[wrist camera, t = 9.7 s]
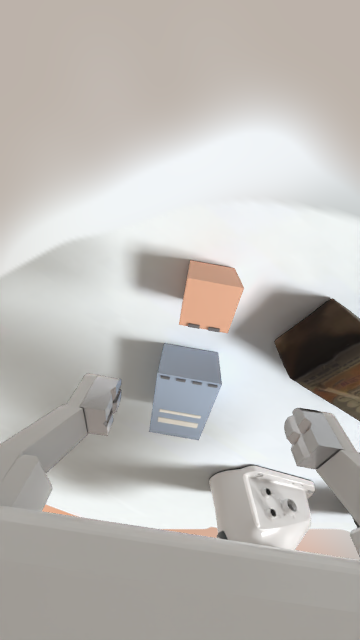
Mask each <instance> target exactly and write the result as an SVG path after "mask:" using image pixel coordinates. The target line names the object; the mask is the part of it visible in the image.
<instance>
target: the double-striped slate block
mask: <svg viewBox="0 0 360 640" xmlns="http://www.w3.org/2000/svg"><path fill="white" fill-rule="evenodd" d="M221 385H222V381H221V373H220V364H219V356H218V353H217V352H211V351H205V350H200V349H194V348H188V347H183V346H177V345H171V344H166V343H164V347H163V351H162V356H161V360H160V364H159V369H158V373H157V380H156V387H155V394H154V401H153V409H152V416H151V423H150V430H149V432H154V433H160V434H166V435H172V436H178V437H183V438H189V439H195V440H199V438H200V436H201V433H202V431H203V428H204V426H205V424H206V421H207V419H208V416H209V414H210V412H211V409H212V407H213V404H214V402H215V399H216V397H217V395H218V392H219V390H220V387H221Z"/></svg>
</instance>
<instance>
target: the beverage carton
mask: <svg viewBox="0 0 360 640" xmlns="http://www.w3.org/2000/svg"><path fill="white" fill-rule="evenodd" d="M275 345H276V348H277V350H278V352H279V355H280V358H281V359H282V362H283V364H284V367H285V369H286V371H287V373H288V375H289V377H290V378H291V379H292V380H294V381H296V382H298V383H299V384H300V385H302V386H303V387H305V388H307V389H308V390H310V391H312V392H313V393H315V394H316V395H318V396H320V397H321V398H323V399H325V400H326V401H328V402H329V403H331V404H333V405H335V406H336V407H338V408H339V409H341V410H343V411H344V412H346V413H348V414H349V415H351V416H352V417H354V418H355V419H357V420H359V421H360V318H359V317H357V316H356V315H354V314H353V313H352V312H351V311H349V310H348V309H347V308H345V307H344V306H343V305H341V304H340V303H338V302H337V301H335V300H334V299H330V300H329V301H327V302H326V303H325V304H323V305H322V306H320V307H319V308H318V309H317V310H316V311H314V312H313V313H312V314H310V315H309V316H308V317H306V318H305V319H304V320H302V321H301V322H299V323H297V324H296V325H295V326H294V327H293V328H291V329H290V330H289V331H287V332H286V333H285V334H283V335H282V336H280V337H279V338H277V339H276V340H275Z"/></svg>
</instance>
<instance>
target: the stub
mask: <svg viewBox="0 0 360 640" xmlns="http://www.w3.org/2000/svg"><path fill="white" fill-rule="evenodd" d="M243 289H244V287H243V285H242V283H241V281H240V279H239V277H238V274H237V272H236V270H235V268H230V267H224V266H219V265H214V264H208V263H203V262H197V261H192V260H190V264H189V270H188V275H187V280H186V286H185V291H184V296H183V302H182V309H181V315H180V321H179V325H184V326H188V327H192V328H198V329H199V328H201V329H207V330H209V331H215V332H224V333H228V331H229V328H230V325H231V323H232V320H233V317H234V314H235V311H236V309H237V306H238V303H239V300H240V298H241V295H242V292H243Z"/></svg>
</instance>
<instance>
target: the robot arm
mask: <svg viewBox="0 0 360 640" xmlns="http://www.w3.org/2000/svg"><path fill="white" fill-rule="evenodd" d="M120 386H121V379H117V378H111V377H106V376H101V375H96V374H90V373H87V374H86V375H85V376H84V377H83V379H82V380H81V382H80V383H79V385H78V387H77V388H76V390H75V391H74V393H73V394H72V396H71V398H70V399H69V401H68V402H67V404H66V405H61V406H59V407H58V408H56V409H55V410H53V411H52V412H50V413H48V414H47V415H45V416H44V417H42V418H41V419H39V420H37V421H36V422H34V423H33V424H31V425H30V426H28V427H27V428H25V429H23V430H22V431H20V432H19V433H17V434H16V435H14V436H12V437H11V438H9V439H8V440H6V441H5V442H3V443H1V444H0V640H360V560H356V559H349V558H343V557H337V556H330V555H324V554H317V553H311V552H304V551H297V550H295V549H296V547H297V546H298V544H299V543H300V541H301V540H302V538H303V537H304V535H305V534H306V532H307V531H308V529H309V528H310V525H311V514H310V508H309V504H308V500H307V499H308V498H310V497H311V496H312V495H313V493H314V492H315V487H314V483H313V482H312V481H309V480H305V479H302V478H298V477H294V476H291V475H287V474H283V473H280V472H276V471H273V470H269V469H265V468H262V467H258V466H248V467H245V468H242V469H237V470H229V471H224V472H220V473H218V474H215V475H214V476H212V477H211V478H210V480H209V485H210V488H211V492H212V496H213V501H214V507H215V513H216V520H217V528H218V535H217V538H212V537H206V536H199V535H193V534H186V533H180V532H173V531H167V530H160V529H154V528H147V527H141V526H134V525H128V524H121V523H114V522H108V521H101V520H95V519H88V518H82V517H75V516H68V515H62V514H55V513H49V512H42V510H43V508H44V506H45V504H46V502H47V499H48V497H49V495H50V493H51V491H52V484H51V482H50V480H49V479H48V477H47V475H46V473H47V472H48V471H49V470H50V469H51V468H52V467H53V466H54V465H56V464H57V463H58V462H59V461H60V460H61V459H62V458H63V457H64V456H65V455H66V454H67V453H68V452H69V451H71V450H72V449H73V448H74V447H75V446H76V445H77V444H78V443H79V442H80V441H81V440H82V439H83V438H84V437H85V436H87V435H88V433H91V434H99V435H106V436H108V433H109V431H110V428H111V425H112V423H113V414H114V413H115V412H116V411H117V409H118V407H119V403H120V399H121V390H120ZM292 413H293V416H290V417H288V418H287V419H286V421H285V425H284V430H285V434H286V437H287V439H288V440H289V441H290V443H291V444H292V447H291V451H292V454H293V457H294V459H295V462H296V465H297V466H300V467H305V468H311V469H316V471H317V473H318V474H319V475H320V476H321V478H322V479H323V480H324V481H325V483H326V484H327V485H328V486H329V488H330V489H331V490H332V492H333V493H334V494H335V495H336V497H337V498H338V499H339V500H340V502H341V503H342V504H343V505H344V507H345V508H346V509H347V511H348V512H349V513H350V514H351V516H352V517H353V518H354V519H355V521H356V522H357V523H358V524H359V526H360V453H359V452H357V451H356V450H355V448H354V446H353V445H352V443H351V442H350V440H349V438H348V437H347V435H346V434H345V432H344V430H343V429H342V427H341V426H340V424H339V422H338V421H337V419H336V418H335V416H334V415H333V414H332V413H327V412H321V411H316V410H309V409H303V408H296V409H294V410H293V412H292ZM350 536H351V538H352V541H353V543H354V545H355V547H356V550H357V552H358V554H359V557H360V527H359V528H357V529H354V530H352V531H351V533H350Z"/></svg>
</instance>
